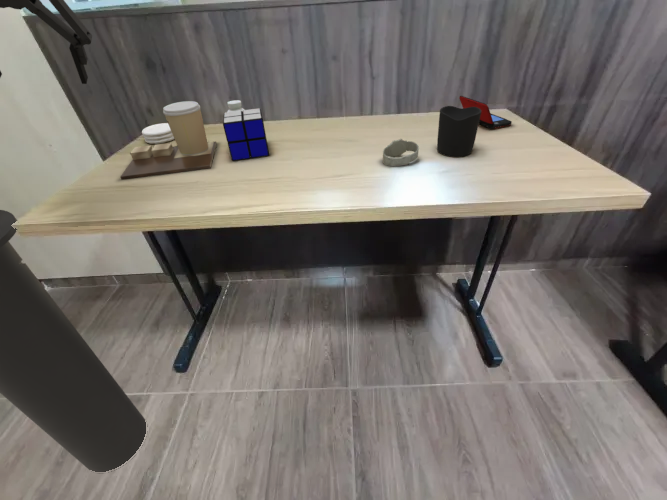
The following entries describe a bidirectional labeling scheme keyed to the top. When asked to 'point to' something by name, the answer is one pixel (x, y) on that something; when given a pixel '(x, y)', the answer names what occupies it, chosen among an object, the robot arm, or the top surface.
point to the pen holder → (457, 130)
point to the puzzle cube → (245, 134)
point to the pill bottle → (234, 106)
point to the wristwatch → (400, 153)
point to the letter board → (166, 160)
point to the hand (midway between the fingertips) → (43, 79)
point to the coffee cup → (187, 127)
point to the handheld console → (485, 114)
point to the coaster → (157, 133)
